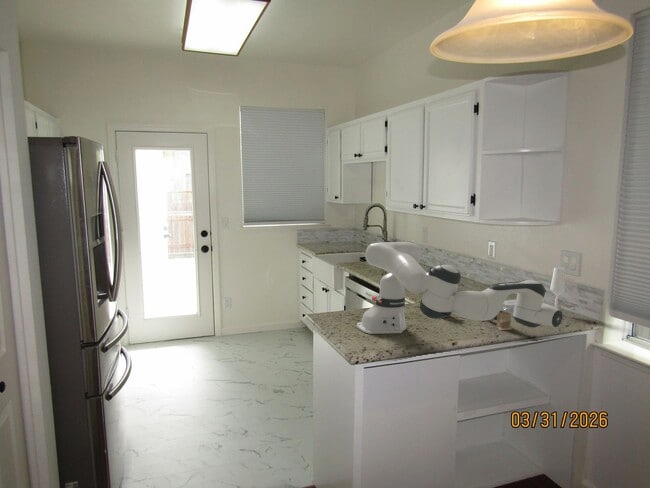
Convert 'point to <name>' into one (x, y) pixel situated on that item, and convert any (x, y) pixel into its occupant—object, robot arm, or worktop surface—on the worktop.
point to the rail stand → (503, 321)
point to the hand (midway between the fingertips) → (505, 301)
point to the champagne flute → (558, 283)
